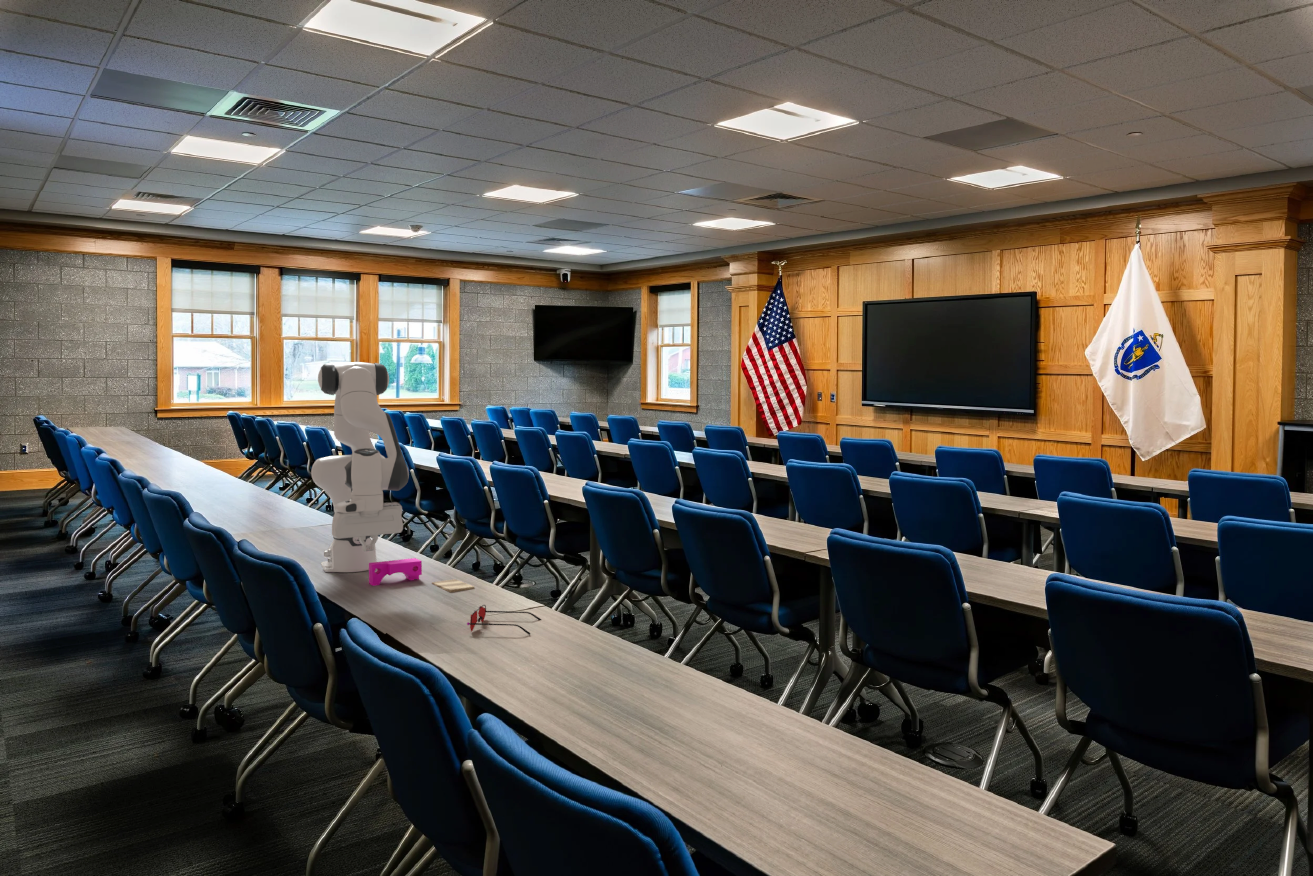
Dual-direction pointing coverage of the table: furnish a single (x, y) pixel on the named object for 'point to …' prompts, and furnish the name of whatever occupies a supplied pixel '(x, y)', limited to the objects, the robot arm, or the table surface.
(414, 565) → the toy block
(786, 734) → the table surface
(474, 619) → the glasses
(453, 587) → the wooden board
